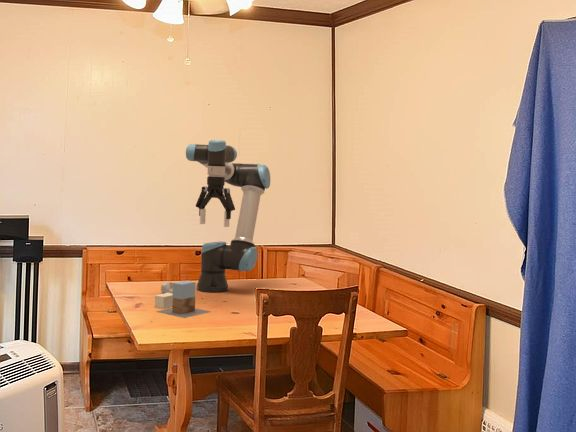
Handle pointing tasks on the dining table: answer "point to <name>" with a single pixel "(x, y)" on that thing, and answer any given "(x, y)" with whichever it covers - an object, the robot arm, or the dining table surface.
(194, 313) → the build board
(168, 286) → the toy
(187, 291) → the brick top
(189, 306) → the brick base
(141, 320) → the dining table surface
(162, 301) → the brick
